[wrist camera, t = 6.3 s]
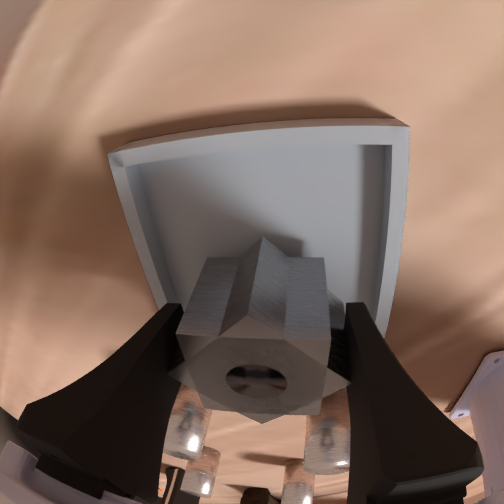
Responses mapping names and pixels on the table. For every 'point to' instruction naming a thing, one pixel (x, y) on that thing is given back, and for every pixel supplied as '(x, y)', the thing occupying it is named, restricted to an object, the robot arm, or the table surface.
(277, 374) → the nut
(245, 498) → the dark brown bar
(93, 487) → the robot arm
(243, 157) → the tray
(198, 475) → the cylinder
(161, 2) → the table surface
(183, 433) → the cylinder
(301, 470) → the cylinder
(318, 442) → the cylinder
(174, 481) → the battery charger
